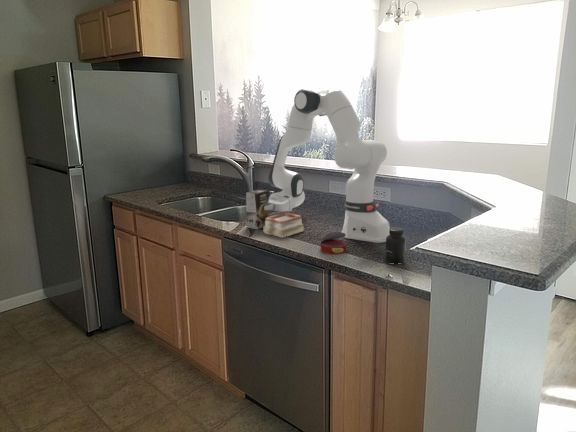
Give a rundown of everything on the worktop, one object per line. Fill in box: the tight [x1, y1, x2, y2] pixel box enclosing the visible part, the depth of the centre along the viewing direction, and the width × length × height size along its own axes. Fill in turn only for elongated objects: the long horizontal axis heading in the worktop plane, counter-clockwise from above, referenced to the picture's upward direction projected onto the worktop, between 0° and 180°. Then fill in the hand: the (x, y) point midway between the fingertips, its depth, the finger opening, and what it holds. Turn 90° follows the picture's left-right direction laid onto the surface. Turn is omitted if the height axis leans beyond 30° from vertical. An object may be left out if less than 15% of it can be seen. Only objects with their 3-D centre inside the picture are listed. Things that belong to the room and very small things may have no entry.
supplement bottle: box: [384, 226, 407, 264], centre depth 158 cm, size 7×7×12 cm
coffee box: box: [245, 189, 270, 230], centre depth 205 cm, size 9×6×16 cm
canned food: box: [319, 231, 348, 255], centre depth 172 cm, size 11×10×10 cm
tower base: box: [262, 212, 305, 239], centre depth 197 cm, size 11×14×7 cm
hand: (257, 207), depth 204 cm, fingers closed on coffee box, 7 cm apart
